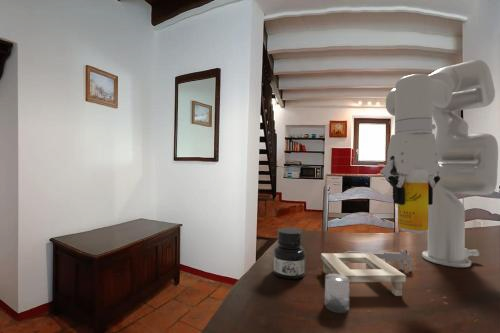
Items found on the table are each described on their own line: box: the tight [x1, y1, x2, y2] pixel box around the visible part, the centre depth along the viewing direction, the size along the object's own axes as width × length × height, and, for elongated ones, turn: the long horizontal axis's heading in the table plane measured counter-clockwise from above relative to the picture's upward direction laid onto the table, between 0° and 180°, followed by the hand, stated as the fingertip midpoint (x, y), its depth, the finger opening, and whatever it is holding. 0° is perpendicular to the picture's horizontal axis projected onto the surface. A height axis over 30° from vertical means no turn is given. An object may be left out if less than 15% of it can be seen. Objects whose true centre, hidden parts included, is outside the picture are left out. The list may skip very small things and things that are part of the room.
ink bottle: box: [273, 227, 307, 280], centre depth 70 cm, size 10×9×12 cm
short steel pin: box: [324, 273, 351, 314], centre depth 54 cm, size 5×5×6 cm
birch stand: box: [320, 252, 407, 297], centre depth 65 cm, size 15×15×5 cm
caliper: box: [344, 249, 413, 273], centre depth 79 cm, size 20×1×6 cm, turn 43°
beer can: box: [397, 168, 428, 235], centre depth 59 cm, size 6×6×15 cm
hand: (412, 203), depth 59 cm, fingers closed on beer can, 6 cm apart
